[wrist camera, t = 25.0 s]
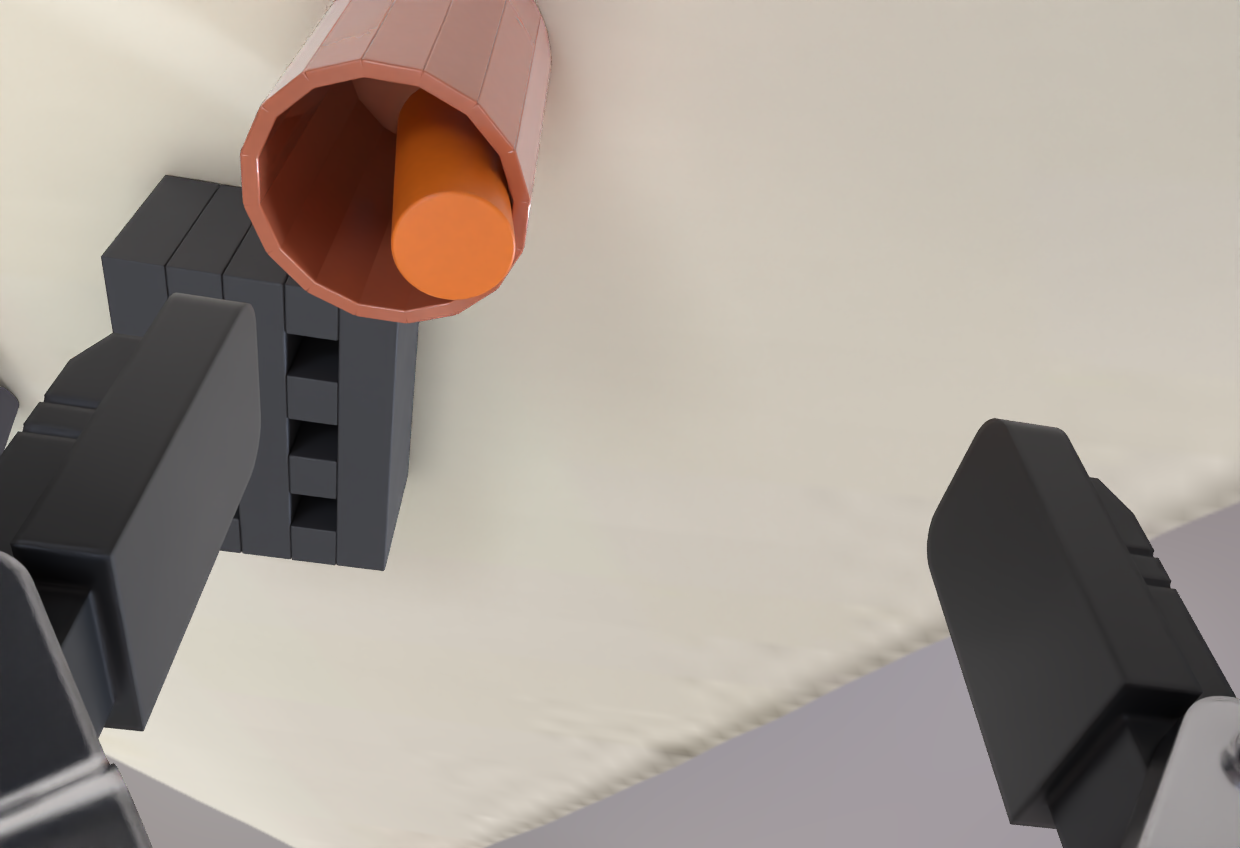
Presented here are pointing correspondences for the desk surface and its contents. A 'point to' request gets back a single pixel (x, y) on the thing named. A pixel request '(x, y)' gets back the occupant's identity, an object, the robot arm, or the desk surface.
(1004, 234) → the desk surface
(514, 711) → the desk surface
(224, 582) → the desk surface
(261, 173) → the pen cup
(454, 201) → the orange cylinder rod
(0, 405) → the clip-on lamp
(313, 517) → the holder
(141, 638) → the robot arm
